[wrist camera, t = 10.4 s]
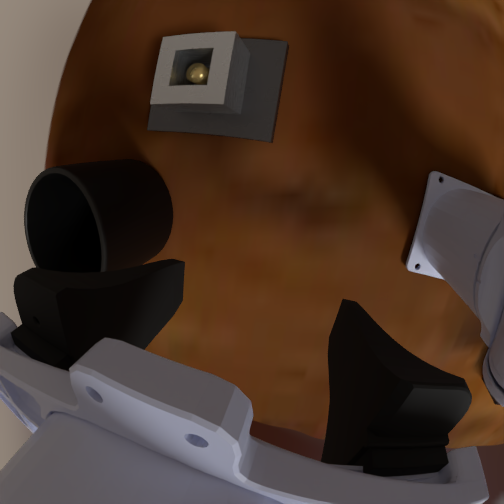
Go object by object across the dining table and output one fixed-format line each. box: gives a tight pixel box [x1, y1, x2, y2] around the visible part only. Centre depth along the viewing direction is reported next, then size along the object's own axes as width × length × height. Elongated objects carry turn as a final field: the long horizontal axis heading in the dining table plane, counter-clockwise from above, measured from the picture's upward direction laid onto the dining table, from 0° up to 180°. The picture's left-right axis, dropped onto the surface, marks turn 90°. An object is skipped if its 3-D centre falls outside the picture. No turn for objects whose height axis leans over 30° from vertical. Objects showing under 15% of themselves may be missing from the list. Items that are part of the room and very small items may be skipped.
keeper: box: [147, 38, 289, 143], centre depth 17 cm, size 10×8×4 cm
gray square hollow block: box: [150, 32, 250, 115], centre depth 16 cm, size 5×5×4 cm
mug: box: [24, 159, 173, 273], centre depth 19 cm, size 9×12×9 cm
